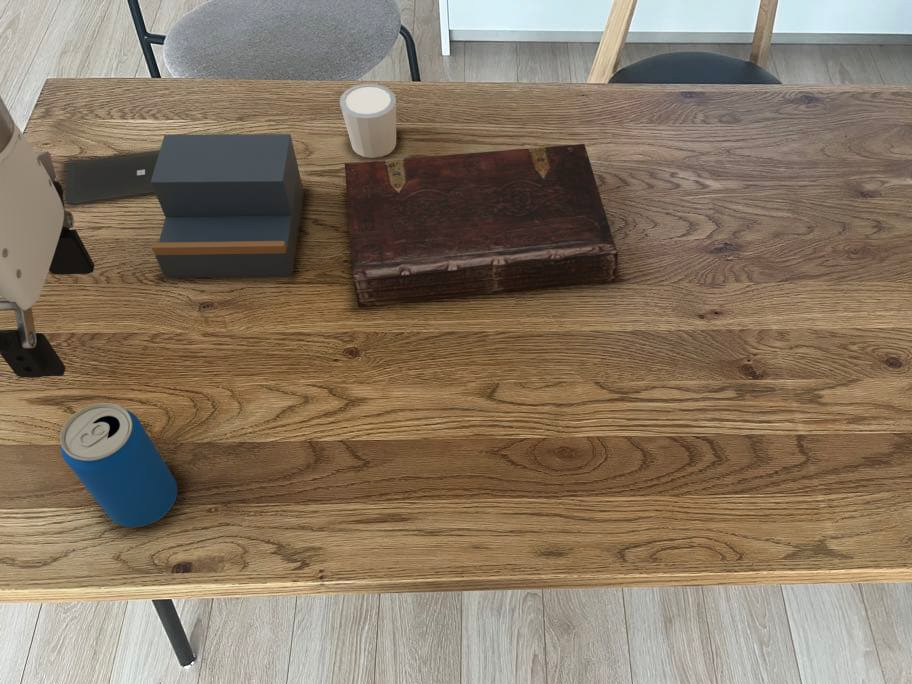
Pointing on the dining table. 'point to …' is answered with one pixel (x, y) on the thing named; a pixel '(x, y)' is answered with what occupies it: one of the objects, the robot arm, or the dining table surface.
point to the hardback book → (476, 224)
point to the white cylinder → (370, 119)
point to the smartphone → (110, 178)
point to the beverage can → (118, 464)
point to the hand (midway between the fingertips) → (58, 320)
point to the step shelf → (228, 205)
